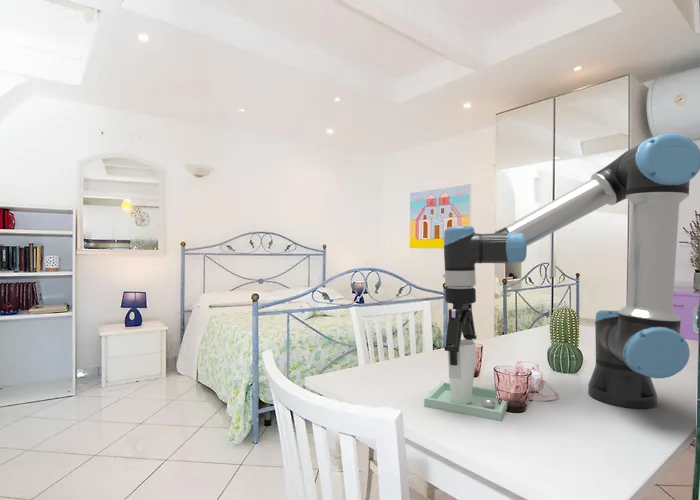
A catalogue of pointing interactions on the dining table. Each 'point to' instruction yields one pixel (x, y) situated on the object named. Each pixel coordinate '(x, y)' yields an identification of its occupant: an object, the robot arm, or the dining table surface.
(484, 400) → the shiny metal ball
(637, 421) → the dining table surface
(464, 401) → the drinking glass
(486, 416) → the tray
